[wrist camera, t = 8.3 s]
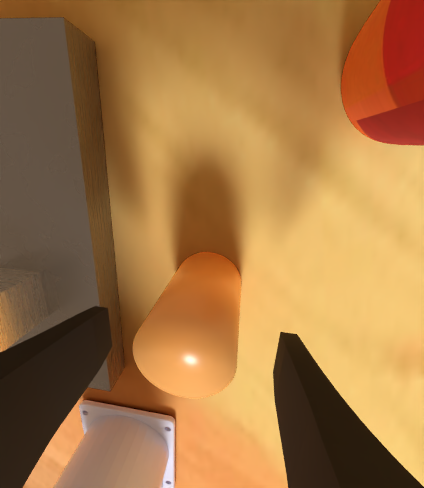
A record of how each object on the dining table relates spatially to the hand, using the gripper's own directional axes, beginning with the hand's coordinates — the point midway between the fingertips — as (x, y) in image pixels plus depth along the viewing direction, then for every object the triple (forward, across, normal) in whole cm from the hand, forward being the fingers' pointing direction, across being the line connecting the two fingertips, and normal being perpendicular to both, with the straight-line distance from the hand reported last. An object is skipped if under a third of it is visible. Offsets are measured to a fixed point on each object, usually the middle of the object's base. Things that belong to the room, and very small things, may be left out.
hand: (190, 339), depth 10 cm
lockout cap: (+5, 0, 0) cm, 5 cm away
